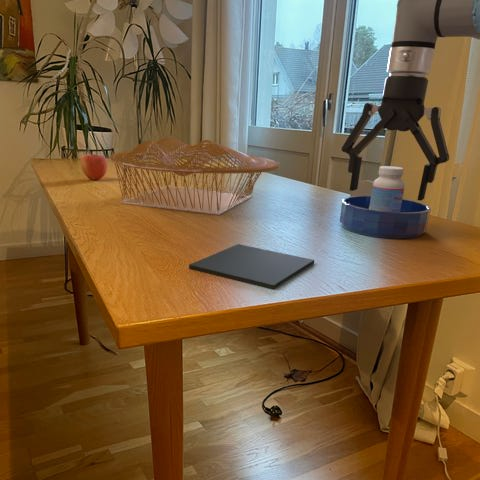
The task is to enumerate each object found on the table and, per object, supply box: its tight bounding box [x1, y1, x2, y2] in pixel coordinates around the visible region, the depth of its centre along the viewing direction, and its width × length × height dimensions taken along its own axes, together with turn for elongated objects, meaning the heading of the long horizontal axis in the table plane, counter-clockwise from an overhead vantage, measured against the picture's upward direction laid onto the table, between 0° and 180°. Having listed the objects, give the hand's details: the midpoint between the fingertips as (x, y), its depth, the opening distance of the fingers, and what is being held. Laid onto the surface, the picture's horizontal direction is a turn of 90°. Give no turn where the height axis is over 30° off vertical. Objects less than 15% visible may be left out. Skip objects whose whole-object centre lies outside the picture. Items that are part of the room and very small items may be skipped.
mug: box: [349, 179, 374, 197], centre depth 113 cm, size 8×10×10 cm
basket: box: [109, 137, 281, 216], centre depth 113 cm, size 36×40×14 cm
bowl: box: [339, 196, 432, 240], centre depth 97 cm, size 17×17×5 cm
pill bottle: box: [369, 165, 406, 212], centre depth 95 cm, size 6×6×11 cm
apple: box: [80, 149, 108, 181], centre depth 136 cm, size 7×7×8 cm
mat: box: [188, 243, 315, 290], centre depth 72 cm, size 14×14×1 cm
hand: (385, 194), depth 95 cm, fingers open, 13 cm apart
